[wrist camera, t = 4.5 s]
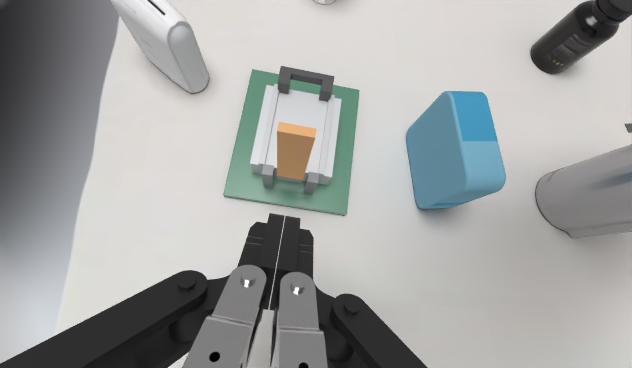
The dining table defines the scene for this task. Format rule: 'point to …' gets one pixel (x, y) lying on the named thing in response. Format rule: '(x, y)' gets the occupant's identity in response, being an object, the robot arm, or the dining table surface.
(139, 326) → the robot arm
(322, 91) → the processor board
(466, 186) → the blue rounded block
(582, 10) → the supplement bottle
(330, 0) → the wineglass
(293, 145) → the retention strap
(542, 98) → the dining table surface
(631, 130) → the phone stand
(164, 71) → the photo printer
